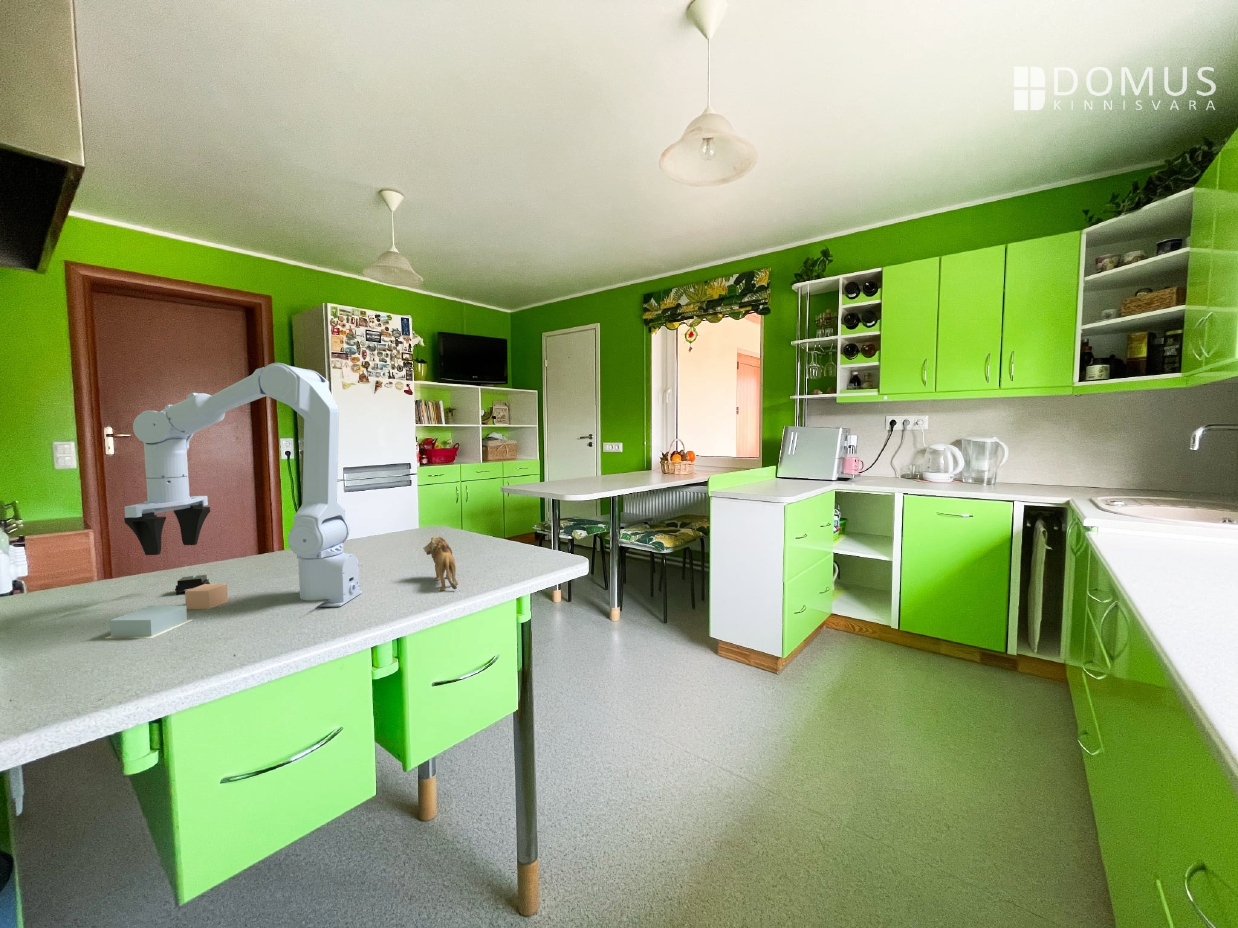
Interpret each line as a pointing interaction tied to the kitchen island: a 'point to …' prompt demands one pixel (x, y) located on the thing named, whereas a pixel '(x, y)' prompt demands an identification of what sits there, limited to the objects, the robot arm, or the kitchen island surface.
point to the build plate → (190, 583)
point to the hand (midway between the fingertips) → (172, 549)
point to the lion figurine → (442, 561)
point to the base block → (148, 621)
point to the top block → (206, 596)
